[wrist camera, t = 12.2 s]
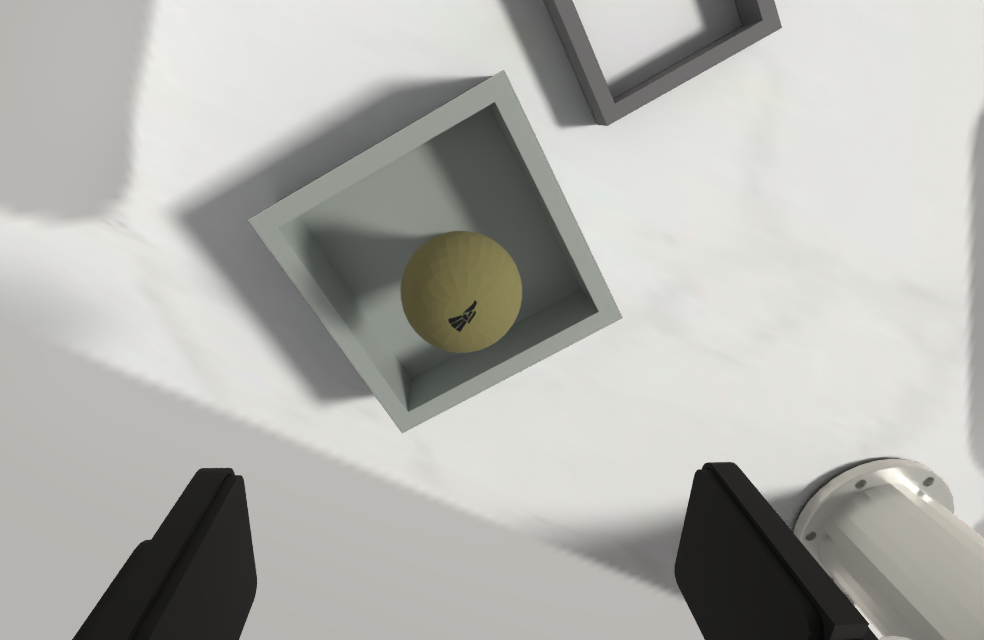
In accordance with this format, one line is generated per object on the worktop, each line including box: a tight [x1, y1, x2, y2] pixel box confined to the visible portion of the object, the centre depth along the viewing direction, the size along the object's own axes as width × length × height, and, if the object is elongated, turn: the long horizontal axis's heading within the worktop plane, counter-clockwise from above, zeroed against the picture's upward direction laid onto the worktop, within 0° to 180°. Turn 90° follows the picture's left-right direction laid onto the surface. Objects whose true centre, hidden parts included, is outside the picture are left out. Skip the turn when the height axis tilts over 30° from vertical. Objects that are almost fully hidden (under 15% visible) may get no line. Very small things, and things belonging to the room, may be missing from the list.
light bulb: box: [400, 231, 522, 353], centre depth 27 cm, size 6×6×10 cm
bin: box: [248, 70, 622, 433], centre depth 30 cm, size 14×14×5 cm
